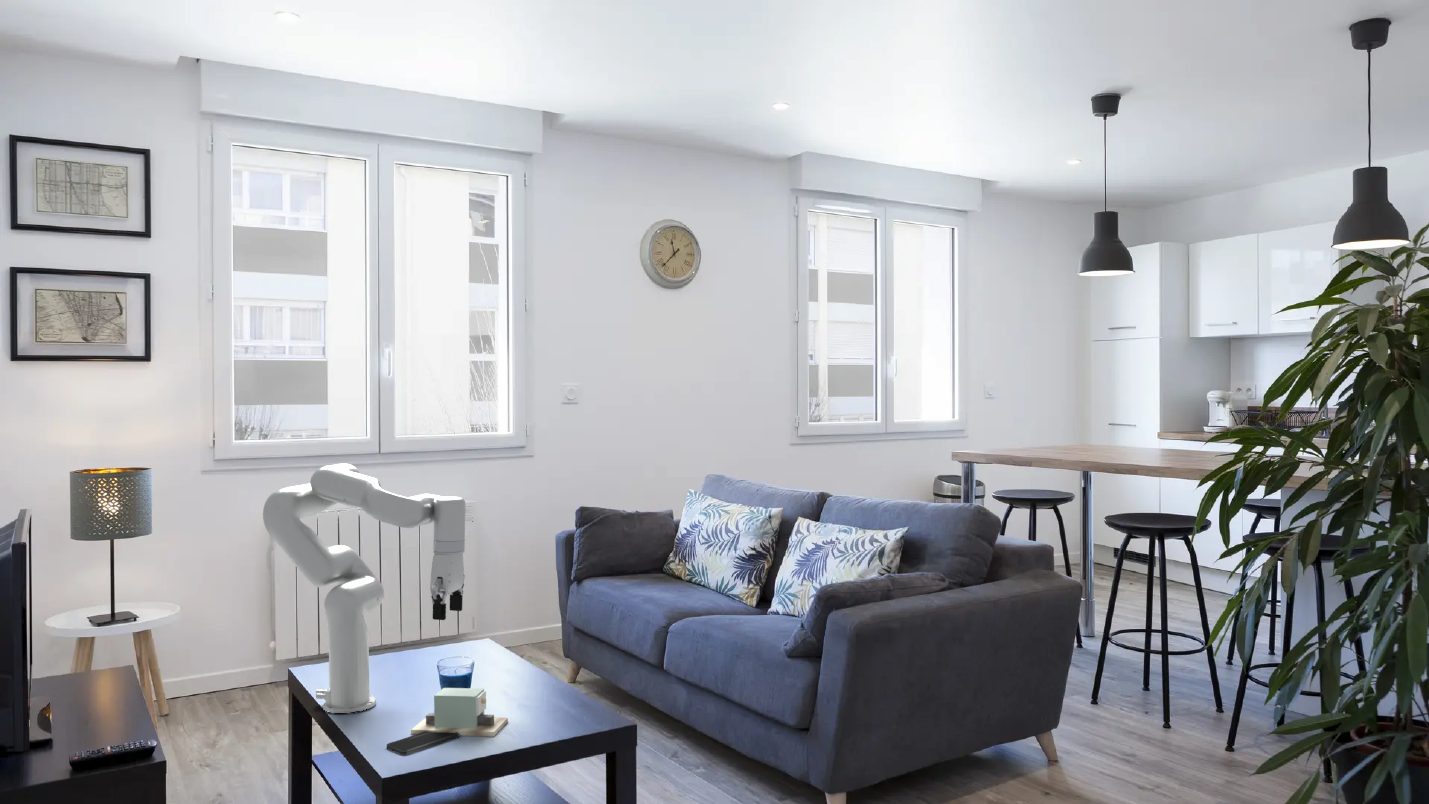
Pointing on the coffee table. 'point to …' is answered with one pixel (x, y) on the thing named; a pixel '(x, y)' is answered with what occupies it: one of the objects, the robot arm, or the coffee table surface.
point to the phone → (421, 742)
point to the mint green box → (458, 707)
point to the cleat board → (486, 727)
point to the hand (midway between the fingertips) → (447, 614)
